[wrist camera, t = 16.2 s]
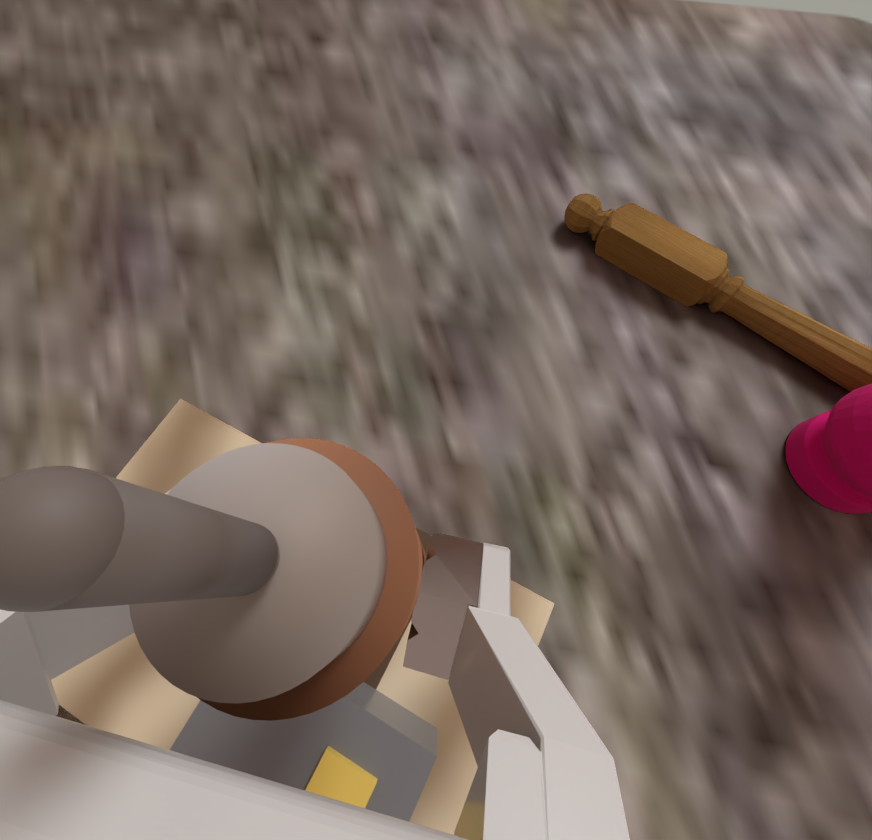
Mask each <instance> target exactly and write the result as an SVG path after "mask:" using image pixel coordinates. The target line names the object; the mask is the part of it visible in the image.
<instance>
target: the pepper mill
mask: <svg viewBox="0 0 872 840" xmlns="http://www.w3.org/2000/svg"><path fill="white" fill-rule="evenodd" d="M785 453H786V461H787V464H788V467H789V470H790V473H791V475H792V476H793V478H794V479H795V481H796V482H797V484H798V485H799V487H800V488H801V489H802V490H803V491H804V492H805V493H806V494H807V495H808V496H809V497H811V498H812V499H814V500H815V501H817V502H818V503H820V504H821V505H823V506H825V507H827V508H830V509H832V510H835V511H838V512H843V513H848V514H862V513H869V512H872V383H871V384H869V385H866V386H863V387H861V388H858V389H855V390H853V391H851V392H850V393H848V394H847V395H845V396H844V397H842V398H841V399H840V400H839V401H838V402H837V403H836V404H835V406H834V407H833V408H832V410H831V411H828V412H825V413H822V414H820V415H818V416H815V417H813V418H811V419H809V420H806V421H804V422H802V423H800V424H799V425H797V426H796V427H795V428H794V429H793V430H792V432H791V433H790V435H789V437H788V439H787V442H786V448H785Z"/></svg>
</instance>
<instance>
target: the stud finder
mask: <svg viewBox="0 0 872 840" xmlns="http://www.w3.org/2000/svg"><path fill="white" fill-rule="evenodd" d="M170 750H171V751H174V752H178V753H181V754H184V755H188V756H191V757H194V758H198V759H201V760H205V761H208V762H211V763H215V764H218V765H221V766H225V767H228V768H231V769H235V770H238V771H241V772H245V773H248V774H251V775H255V776H258V777H261V778H265V779H268V780H271V781H275V782H278V783H281V784H285V785H288V786H292V787H295V788H298V789H302V790H305V791H308V792H312V793H315V794H318V795H322V796H325V797H328V798H332V799H335V800H338V801H342V802H345V803H348V804H352V805H355V806H358V807H362V808H365V809H368V810H372V811H375V812H379V813H382V814H385V815H389V816H392V817H395V818H399V819H402V820H405V821H410V819H411V816H412V814H413V812H414V809H415V807H416V805H417V802H418V800H419V798H420V795H421V793H422V791H423V788H424V786H425V784H426V781H427V779H428V777H429V774H430V772H431V770H432V767H433V765H434V763H435V760H436V758H437V728H436V727H434V726H433V725H431V724H430V723H428V722H426V721H425V720H423V719H422V718H420V717H419V716H417V715H415V714H414V713H412V712H411V711H409V710H407V709H406V708H404V707H403V706H401V705H400V704H398V703H396V702H395V701H393V700H392V699H390V698H388V697H387V696H385V695H384V694H382V693H381V692H379V691H377V690H376V689H374V688H373V687H371V686H369V685H368V684H366V683H365V682H363V683H361V684H360V685H359V686H358V687H356V688H355V689H354V690H353V691H351V692H350V693H349V694H348V695H346V696H344V697H343V698H341V699H339V700H338V701H336V702H334V703H333V704H331V705H329V706H327V707H324V708H322V709H320V710H318V711H315V712H313V713H310V714H306V715H303V716H299V717H295V718H291V719H283V720H274V721H266V720H250V719H245V718H240V717H235V716H232V715H229V714H227V713H224V712H222V711H219V710H216V709H215V708H213V707H211V706H210V705H208V704H206V703H204V702H203V701H201V700H200V702H199V703H198V705H197V706H196V708H195V710H194V711H193V713H192V714H191V716H190V718H189V719H188V721H187V723H186V724H185V726H184V727H183V729H182V731H181V732H180V734H179V735H178V737H177V739H176V740H175V742H174V744H173V745H172V747H171V748H170Z"/></svg>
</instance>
